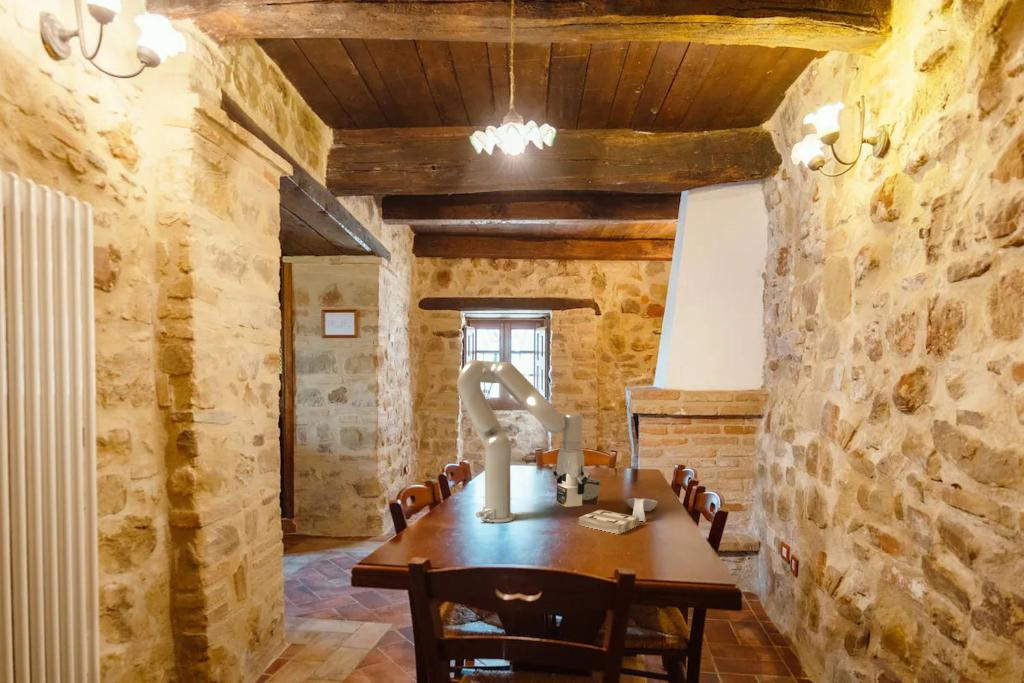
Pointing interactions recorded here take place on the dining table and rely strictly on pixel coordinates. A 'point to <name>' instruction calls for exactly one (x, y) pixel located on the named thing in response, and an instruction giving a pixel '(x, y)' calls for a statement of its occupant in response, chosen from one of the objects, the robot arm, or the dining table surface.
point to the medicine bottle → (568, 492)
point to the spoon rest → (641, 507)
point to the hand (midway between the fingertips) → (570, 491)
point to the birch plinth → (609, 521)
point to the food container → (591, 492)
